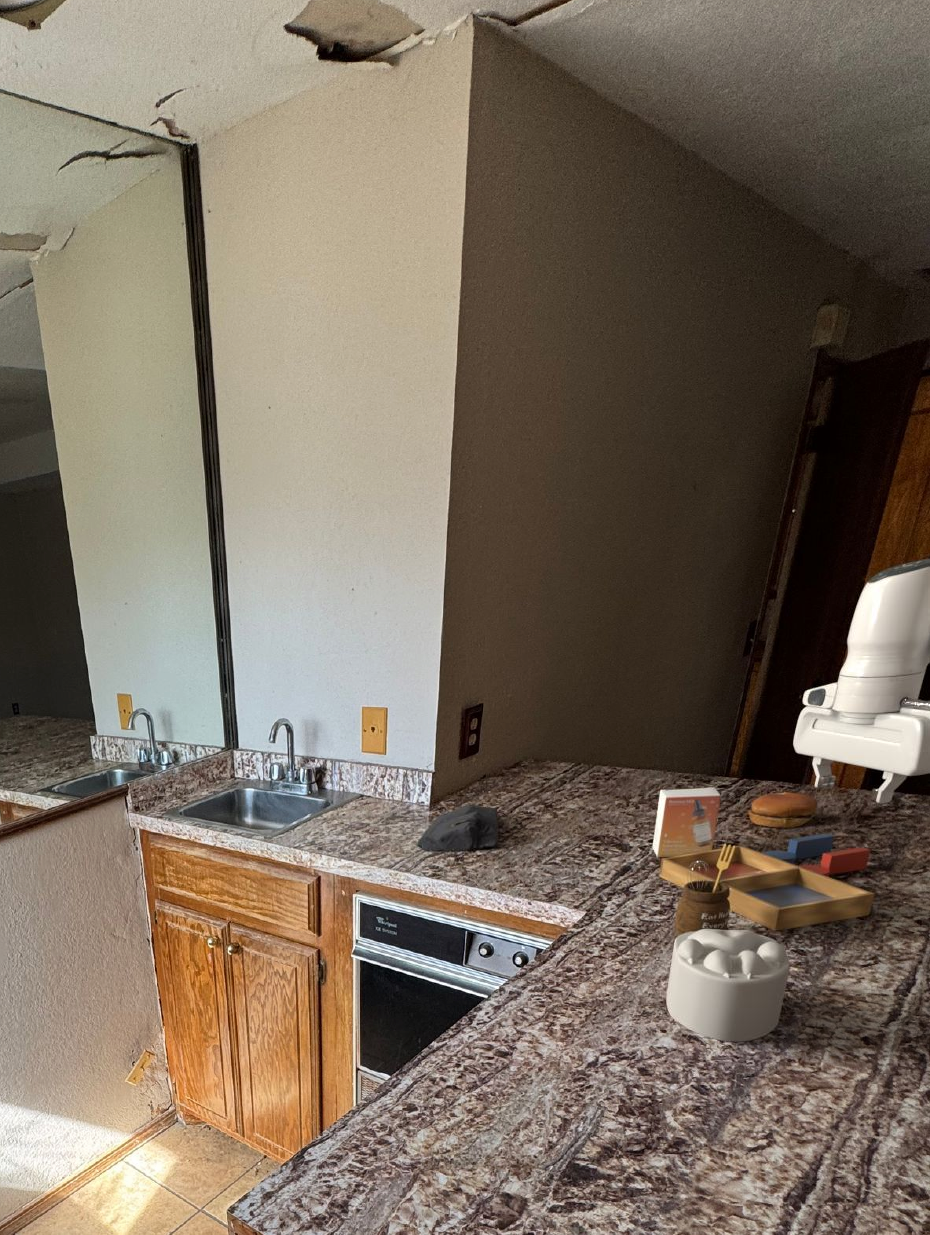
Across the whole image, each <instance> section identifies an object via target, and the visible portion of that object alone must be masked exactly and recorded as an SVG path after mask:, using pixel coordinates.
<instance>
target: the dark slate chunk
mask: <svg viewBox="0 0 930 1235" xmlns="http://www.w3.org/2000/svg"><path fill="white" fill-rule="evenodd" d="M498 815H499V812H498V810H497V808H495V807H486V806H480V805H476V804H469V805H466V806H462V807H459V808H457V809H454V810H451V811H448V812H445V813H442V814H440V815H438V816H436V818H435V819H434V820H433V821H432V824H430V826H429V827H427V828H426V829H425V831H424V832H423V834H422V835H421V837H420V838H419V839H418V841H417V843H416V845H415V846H416V847H418V848H420V849H422V851H424V852H426V851H430V852H437V851H444V852H468V851H474V850H482V849H486V848H489V849H490V848H493V847H495V846H497V844H498V840H499V827H500V826H499V824H500V823H499V820H498V818H499V817H498Z"/></svg>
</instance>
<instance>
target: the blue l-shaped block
mask: <svg viewBox="0 0 930 1235" xmlns="http://www.w3.org/2000/svg"><path fill="white" fill-rule="evenodd" d="M834 840H835V835H833V834H830V833H826V832H825V833H820V834H813V835H809V836H802V837H796V838H791V839H789V842H788V847H787V851H786V850H768V851H764V852H762V853H763V854H766V855H769V856H771V857H774V858H777V859H780V860H782V861H785V862H788V863H791V864H794V863H795V862H796V861H797V860H803V859H808V858H814V857H820V855H821V856H823V853H829V852H832V849H833V845H834Z"/></svg>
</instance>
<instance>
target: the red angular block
mask: <svg viewBox="0 0 930 1235" xmlns="http://www.w3.org/2000/svg"><path fill="white" fill-rule="evenodd" d="M870 854H871V849H870V848H866V847H863V846H859V847H853V848H848V849H841V850H835V851H831V852H829V853H823V855H821V861H820V865H816V864H803V865H802V864H801V865H798V866H799V867H802V868H805V869H807V870H810V871H813V872H816V873H819V874H821V875H824V876H827V877H830V876H831V875H837V874H843V873H849V872H854V871H860V870H866V869H867V866H868V862H869V859H870Z"/></svg>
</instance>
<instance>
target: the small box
mask: <svg viewBox="0 0 930 1235" xmlns="http://www.w3.org/2000/svg"><path fill="white" fill-rule="evenodd" d="M721 799H722V795H721V794H720V792H719V791H718V790H717V789H716V787H714V786H711V787H710V786H709V787H700V788H681V789H680V788H679V789H660V791H659V797H658V804H657V812H656V821H655V826H654V834H653V841H652V849H653V851H654V853H655V856H656V858H669V857H675V856H680V855H686V854H692V853H698V852H704V851H710V850H713V847H714V842H715V836H716V829H717V824H718V819H719V818H718V817H719V812H720V806H721V801H722V800H721Z"/></svg>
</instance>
